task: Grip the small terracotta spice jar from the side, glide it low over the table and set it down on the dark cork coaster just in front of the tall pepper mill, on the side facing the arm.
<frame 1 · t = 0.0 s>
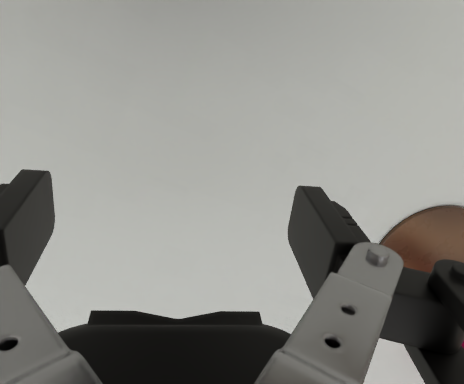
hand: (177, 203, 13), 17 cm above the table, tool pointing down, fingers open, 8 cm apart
cork coaster: (430, 260, 38), on the table
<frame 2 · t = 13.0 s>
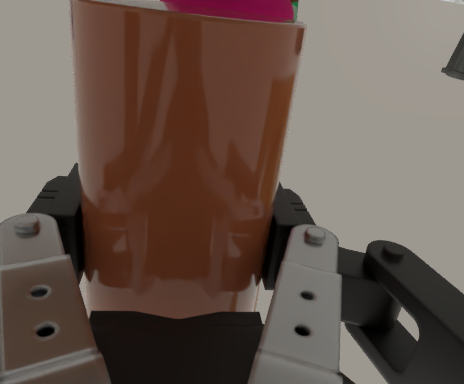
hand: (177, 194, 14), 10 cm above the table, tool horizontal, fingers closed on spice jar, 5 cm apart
spice jar: (192, 8, 9), point 4 cm above the table, touching gripper
when the fingers open (6 cm above the table, at t = 16.0 s): spice jar stays where it is, resting on cork coaster.
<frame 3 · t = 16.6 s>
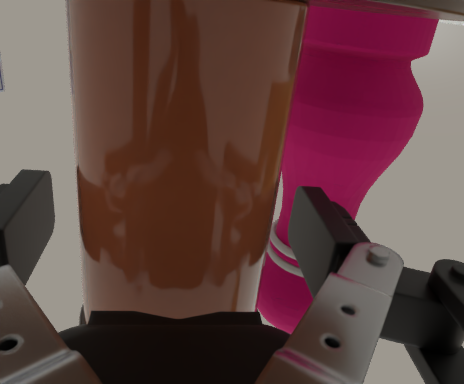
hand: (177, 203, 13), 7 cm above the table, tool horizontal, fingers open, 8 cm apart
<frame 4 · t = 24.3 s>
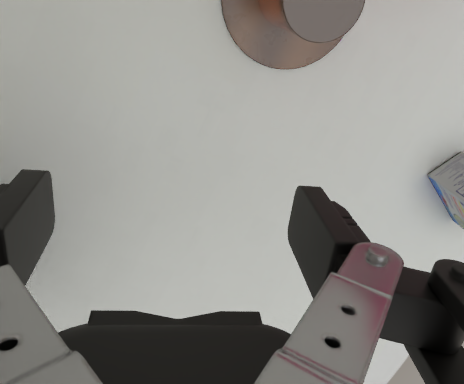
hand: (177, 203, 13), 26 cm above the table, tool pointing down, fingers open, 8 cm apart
medicine box: (455, 185, 46), on the table
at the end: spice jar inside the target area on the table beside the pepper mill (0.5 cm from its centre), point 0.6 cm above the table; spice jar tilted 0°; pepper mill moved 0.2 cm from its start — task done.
